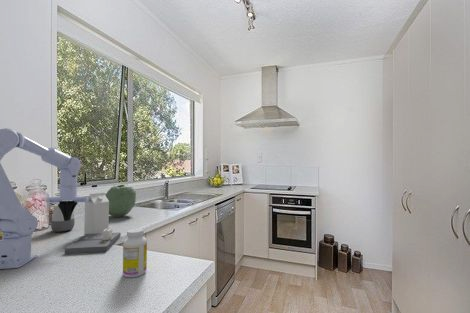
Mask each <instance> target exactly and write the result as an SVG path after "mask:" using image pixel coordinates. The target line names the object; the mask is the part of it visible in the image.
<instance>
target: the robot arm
mask: <svg viewBox="0 0 470 313" xmlns="http://www.w3.org/2000/svg"><path fill="white" fill-rule="evenodd" d="M14 148H19V149H20V150H24V151H27V152H29V153H32V154H34V155H37V156H39V157H40V158H41V160H42V162H44V163H47V164H49V165H51V166H54V167H56V168H57V169H58V171H60V173H59V195H58V196H55V197H54V196H50V197H46V201H45V202H46V204H49V203H57V206H58V207H59V208H60V210H61V212H62V214H63V217H64V221H68V220H70V219H71V215H72V212H73V210H74V211H75V208H76V206H77V205H78V203H85V202H88V201H89V197H90V196H77V194H78V192H77V191H78V175H79V173H80V172H79V171H80V170H81V168H82V163H81V161H80V159H79V158H78V157H75V156H70V154H69V153H64V152H63V151H60V150H59V149H60V148H58V147H48V148H47V147H45V146H43V145H42V144H39V143H38V142H36V141H34V140H32V139H30V138H28V137H26V136H25V135H24V134H22V133H21V132H18V131H15V130H14V129H11V128H8V127H7V128H0V232H1V237H2V238H1V240H0V270H2V269H3V270H6V269H19V268H20V267H23V266H24V265H25V264H28V263H29V262H30V261H32V260H34V259H35V258H37V257H38V255H37V254H35V255H32V239H33V234H34V232H35V230H36V229H37V228H38V223H39V222H38V218H37V217H36V216H34V215H33V214H32V213H31V211H30V210H29V209H27V208H26V207H24V205H22V204H21V202H20V200H19V197H18V196H17V194H16V192H15V189H14V188H13V186H12V184H11V181H10V180H9V178H8V175H7V173H6V171H5V170H4V168H3V166H2V163H1V160H2V159H3V158H4V156H5V155H7V154H8V153H10V152H11V151H12V150H14Z"/></svg>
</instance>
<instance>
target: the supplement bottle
mask: <svg viewBox="0 0 470 313" xmlns="http://www.w3.org/2000/svg"><path fill="white" fill-rule="evenodd" d="M144 232H145V231H144V228H140V227H139V228H138V227H136V228H131V229H128V230H127V231H126V236H127V238H126V239H124V241H123V243H122V244H123V245H122V275H123V276H124V277H125V278H136V277H140V276H142V275H144V274H145V273H146V272H147V266H148V265H147V262H148V261H147V260H148V259H147V258H148V256H147V255H148V250H147V249H148V240H147V238H146V237H145V236H144Z"/></svg>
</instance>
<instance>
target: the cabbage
mask: <svg viewBox="0 0 470 313" xmlns="http://www.w3.org/2000/svg"><path fill="white" fill-rule="evenodd" d="M105 196H106V197H107V199H108V200H109V216H111V217H114V218H122V217H124V216H126V215H128V214H130V212H131V211H132V209H133V208H134V207H135V205H136V199H137V191H136V190H135V189H134V188H133V187H132V186H131V185H129V184H128V183H124V184H120V185H113V186H111V187H110V188H109V189H108V190H107V192H106V193H105Z"/></svg>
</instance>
